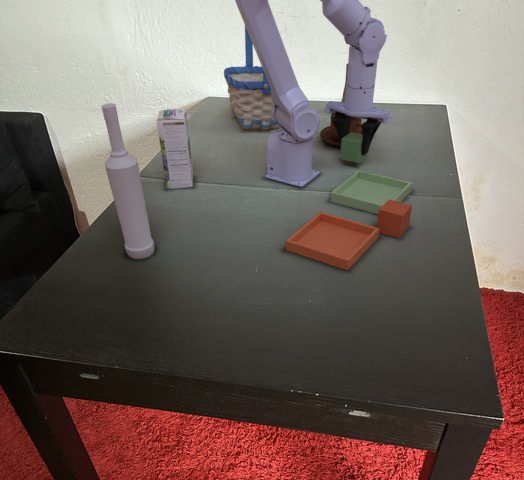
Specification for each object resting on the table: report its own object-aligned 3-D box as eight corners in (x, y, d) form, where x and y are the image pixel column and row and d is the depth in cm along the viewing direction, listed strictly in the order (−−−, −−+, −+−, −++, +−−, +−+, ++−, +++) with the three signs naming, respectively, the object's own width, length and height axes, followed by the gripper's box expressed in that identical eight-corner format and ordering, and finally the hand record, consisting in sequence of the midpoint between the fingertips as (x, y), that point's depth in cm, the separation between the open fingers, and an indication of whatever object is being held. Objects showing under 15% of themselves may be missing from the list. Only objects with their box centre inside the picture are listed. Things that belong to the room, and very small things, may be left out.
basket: (299, 131, 134) (300, 25, 118) (235, 139, 131) (228, 31, 115) (279, 105, 148) (278, 7, 132) (222, 111, 146) (214, 13, 130)
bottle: (160, 246, 95) (132, 101, 78) (147, 261, 92) (114, 113, 75) (135, 242, 97) (102, 98, 80) (121, 257, 93) (83, 110, 76)
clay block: (375, 231, 97) (378, 209, 93) (385, 221, 99) (389, 199, 96) (398, 238, 95) (402, 215, 92) (408, 227, 97) (412, 205, 94)
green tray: (330, 201, 106) (330, 192, 104) (357, 178, 113) (358, 169, 112) (386, 216, 100) (387, 207, 99) (411, 191, 108) (412, 182, 106)
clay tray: (285, 250, 93) (285, 240, 92) (319, 220, 100) (320, 211, 99) (347, 270, 88) (348, 260, 86) (378, 237, 95) (379, 228, 94)
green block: (339, 158, 117) (341, 138, 114) (349, 151, 119) (351, 131, 116) (358, 163, 115) (360, 142, 112) (367, 156, 117) (369, 135, 114)
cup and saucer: (377, 137, 129) (380, 111, 125) (356, 154, 122) (359, 127, 118) (333, 128, 134) (335, 103, 130) (311, 145, 127) (312, 118, 123)
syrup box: (167, 178, 116) (156, 109, 106) (194, 176, 116) (185, 107, 106) (166, 189, 112) (154, 119, 102) (194, 187, 112) (185, 117, 102)
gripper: (401, 84, 106) (392, 151, 115) (338, 74, 112) (334, 138, 122) (387, 94, 102) (378, 162, 111) (322, 83, 108) (319, 149, 117)
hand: (354, 151), depth 116 cm, fingers closed on green block, 4 cm apart
